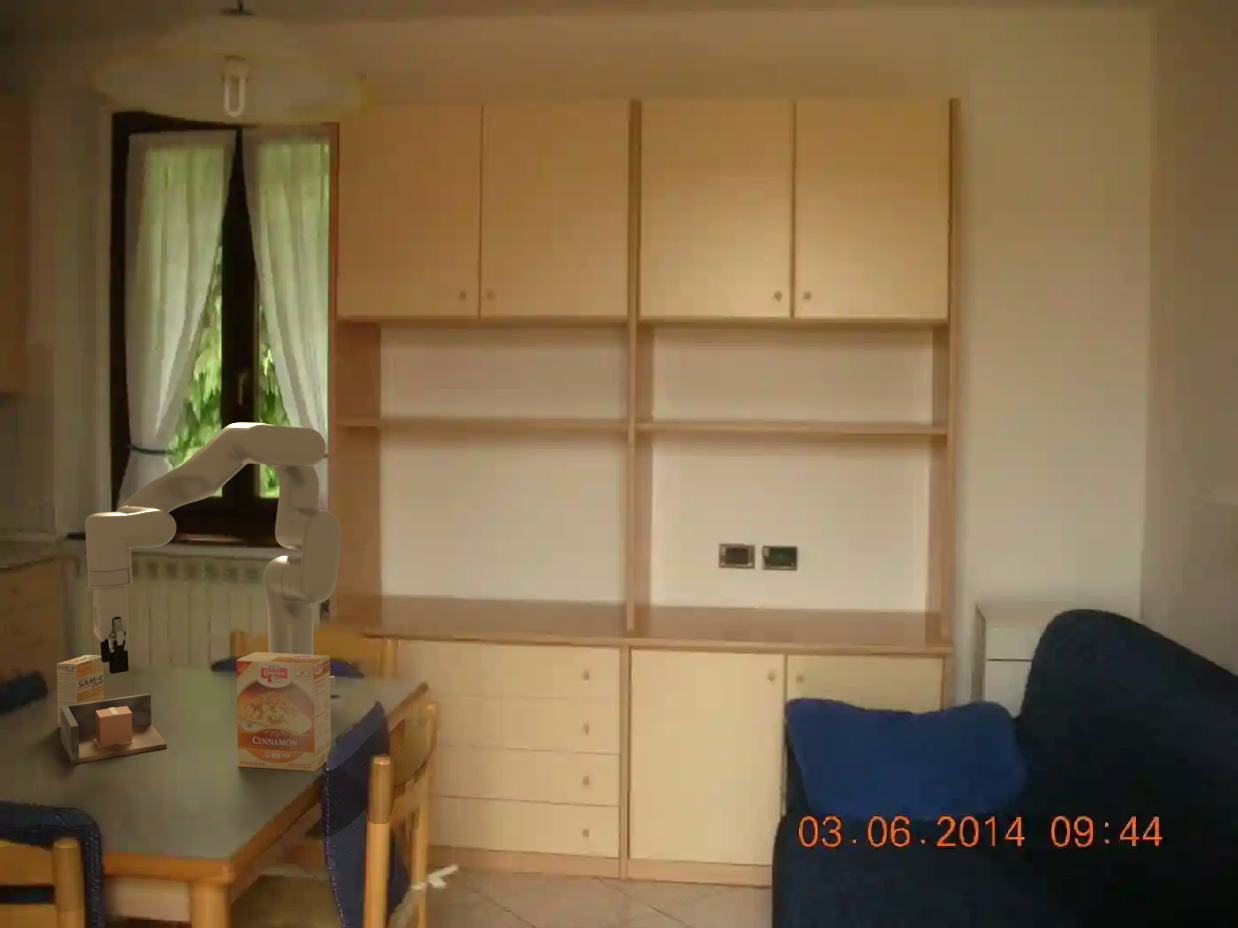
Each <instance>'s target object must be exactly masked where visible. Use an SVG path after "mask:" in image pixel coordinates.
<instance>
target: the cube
mask: <svg viewBox="0 0 1238 928" xmlns="http://www.w3.org/2000/svg"><path fill="white" fill-rule="evenodd" d="M96 739H97V741H98V743H99V745H100V747H101V746H107V745H113V744H119V743H126V742H132V712H131V711H130V710H129V708H128V707H127V706H123V707H116V708H114V707H112V708H108V709H103V710H96Z"/></svg>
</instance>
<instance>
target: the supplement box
mask: <svg viewBox="0 0 1238 928" xmlns="http://www.w3.org/2000/svg"><path fill="white" fill-rule="evenodd" d="M104 669H105V668H104V663H103V662H102V661H101V655H95V654H84V655H81V656H78V657H74V658H71V659H68V660H65V661H61V662H58V663H56V683H57V684H56V688H57V689H56V691H57V693H56V694H57V727H59V728H61V720H60V706H63V705H70V704H77V703H84V702H91V701H98V700H105V683H104V681H105V679H104V675H105V674H104Z"/></svg>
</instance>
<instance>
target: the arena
mask: <svg viewBox="0 0 1238 928" xmlns="http://www.w3.org/2000/svg"><path fill="white" fill-rule="evenodd" d="M151 694H152V693H142V694H135V695H129V696H128V695H127V696H122V697H121V696H120V697H115V698H108V699H107V698H106V699H104V700H98V701H91V702H84V703H77V704H70V705H63V706H60V720H61V727H60V741H61V744H62V745H63V748H64V751H65V752H66V754H67V757H68V758H69V760H70V763H71V764H72V765H75V764H79V763H85V762H91V761H97V760H104V759H109V757H110V758H115V757H116V758H117V757H121V756H127V755H128V756H129V755H131V754H132V755H133V754H139V753H143V752H144V753H145V752H151V751H157V750H162V749H167V748H168V745H167V742H166V741H165V740H164V738H163V737H162V735H160V733H159V732H158V731H157V729H156V728H155V727H154V725H153V724H152V695H151ZM123 706H127V707H128V708H129V710H130V711H131V712H132V742H126V743H119V744H113V745H107V746H101V747H100V745H99V743H98V741H97V739H96V710H103V709H108V708H112V707H114V708H116V707H123ZM156 749H157V750H156Z"/></svg>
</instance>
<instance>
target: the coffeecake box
mask: <svg viewBox="0 0 1238 928" xmlns="http://www.w3.org/2000/svg"><path fill="white" fill-rule="evenodd" d="M235 662H236V719H237V724H236V725H237V730H236V731H237V767H239V768H253V769H254V768H255V769H256V768H257V769H270V770H271V769H272V770H286V771H301V772H316V771H317V770H319V769H320V768H321V767H322V766H324V765H325V764H324V762H325V758H326V757H327V754H328V751H329V749H330V747H331V748H332V735H331V734H332V732H331V731H332V729H331V728H332V726H331V725H332V723H331V721H332V720H331V716H332V715H331V685H330V676H331V656H330V655H329V654H328V655H325V654H324V655H323V654H321V655H320V654H313V655H307V654H287V653H269V652H268V651H267V652H265V651H264V652H263V651H262V652H261V651H254V652H252V653H250V654H247V655H244V656H241V657H240V658H237V660H236V661H235Z"/></svg>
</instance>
